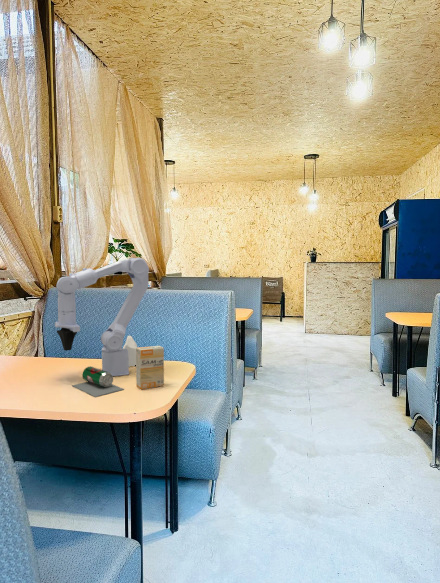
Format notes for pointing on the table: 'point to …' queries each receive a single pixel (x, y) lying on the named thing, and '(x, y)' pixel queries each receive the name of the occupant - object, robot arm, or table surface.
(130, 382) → the table surface
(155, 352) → the supplement box
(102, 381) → the soda can
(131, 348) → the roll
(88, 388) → the mat
